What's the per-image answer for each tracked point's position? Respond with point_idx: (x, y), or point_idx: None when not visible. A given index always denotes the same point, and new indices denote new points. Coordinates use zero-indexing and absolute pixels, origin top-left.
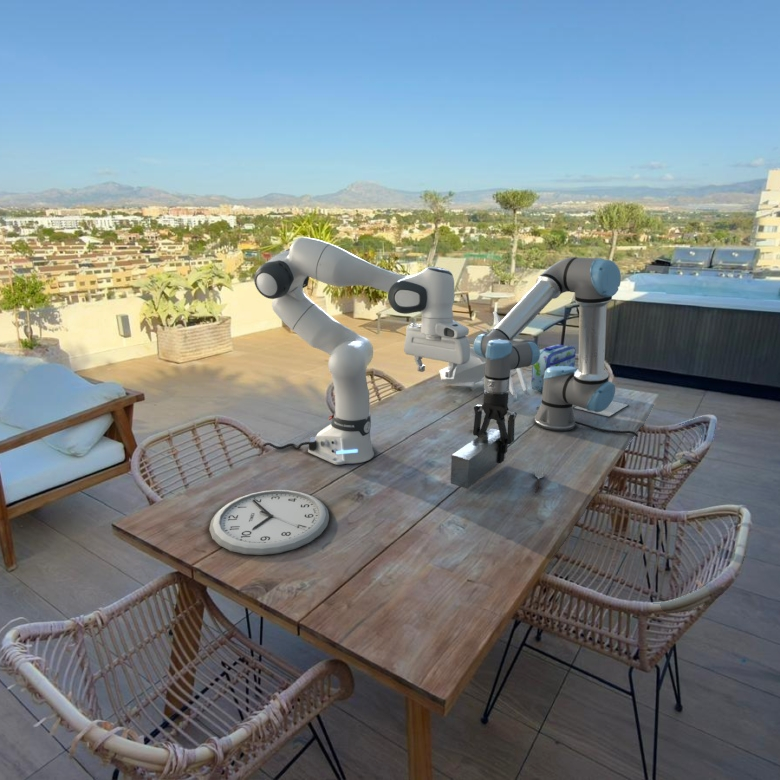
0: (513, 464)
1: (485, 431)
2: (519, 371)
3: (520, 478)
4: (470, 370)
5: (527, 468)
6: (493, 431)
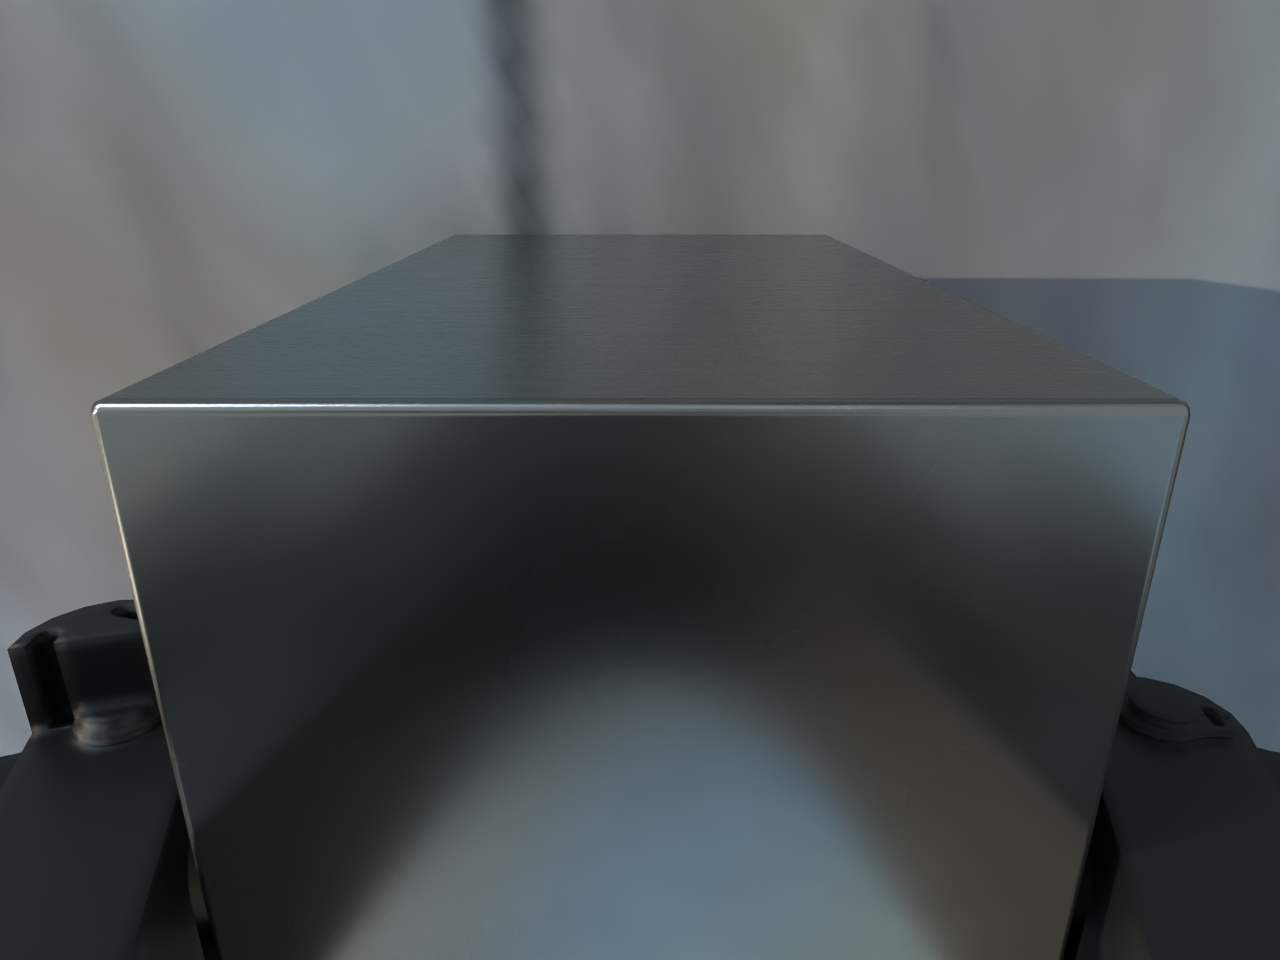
0: (952, 140)
1: (173, 935)
2: None
3: (1200, 574)
4: None
5: (1239, 136)
6: (476, 757)
